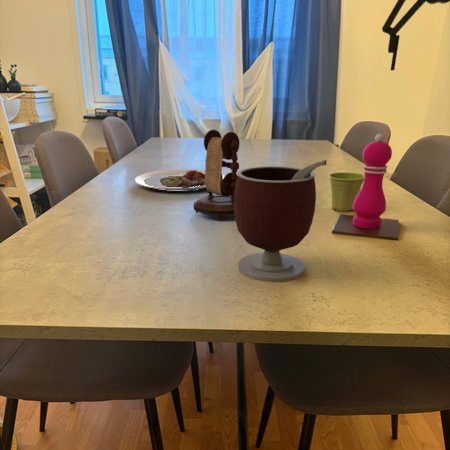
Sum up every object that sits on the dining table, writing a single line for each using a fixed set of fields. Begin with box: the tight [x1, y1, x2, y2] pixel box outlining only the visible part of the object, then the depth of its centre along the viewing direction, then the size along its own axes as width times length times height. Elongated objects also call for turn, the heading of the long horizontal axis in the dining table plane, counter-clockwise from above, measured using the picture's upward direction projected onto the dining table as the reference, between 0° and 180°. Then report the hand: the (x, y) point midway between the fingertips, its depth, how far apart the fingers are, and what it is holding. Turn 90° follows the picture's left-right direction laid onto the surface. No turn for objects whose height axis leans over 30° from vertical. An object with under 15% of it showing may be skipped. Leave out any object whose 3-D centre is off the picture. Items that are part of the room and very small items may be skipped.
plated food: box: [134, 168, 226, 191], centre depth 142 cm, size 30×30×3 cm
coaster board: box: [331, 213, 399, 241], centre depth 101 cm, size 14×14×1 cm
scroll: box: [193, 129, 241, 221], centre depth 107 cm, size 15×15×20 cm
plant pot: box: [328, 171, 364, 212], centre depth 114 cm, size 9×9×9 cm
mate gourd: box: [234, 159, 327, 283], centre depth 75 cm, size 16×14×20 cm
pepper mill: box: [352, 133, 393, 229], centre depth 96 cm, size 7×7×20 cm
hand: (425, 70), depth 93 cm, fingers open, 13 cm apart
